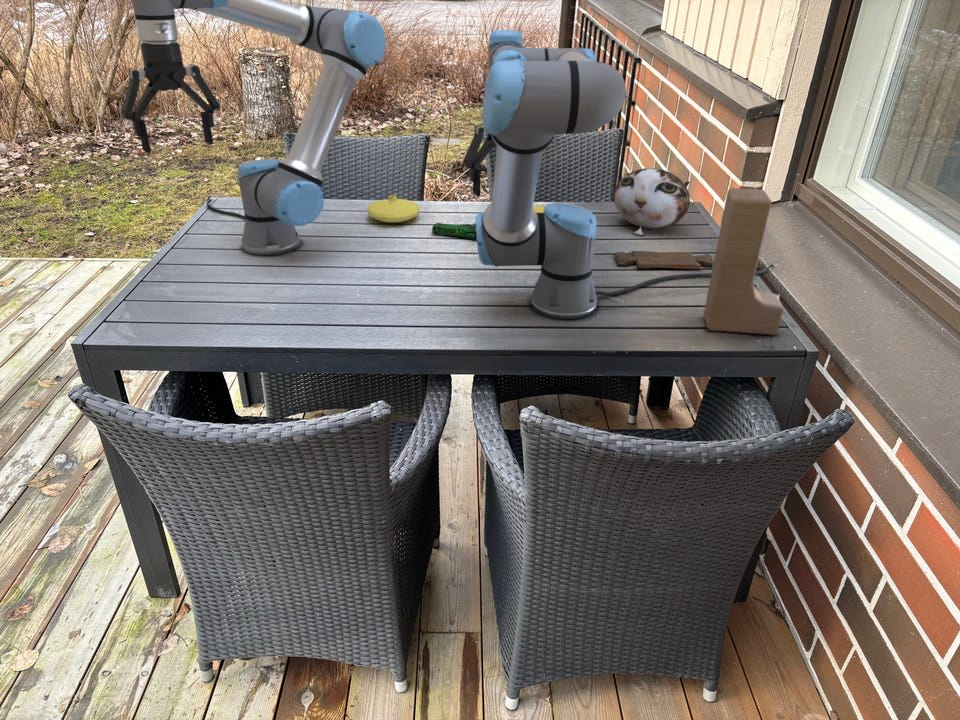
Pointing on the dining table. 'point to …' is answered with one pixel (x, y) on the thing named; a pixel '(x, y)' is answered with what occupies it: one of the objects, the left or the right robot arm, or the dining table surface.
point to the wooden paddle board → (663, 259)
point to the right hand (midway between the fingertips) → (500, 191)
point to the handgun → (456, 230)
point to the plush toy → (651, 198)
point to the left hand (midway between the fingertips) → (179, 147)
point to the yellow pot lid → (393, 210)
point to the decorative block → (741, 269)
